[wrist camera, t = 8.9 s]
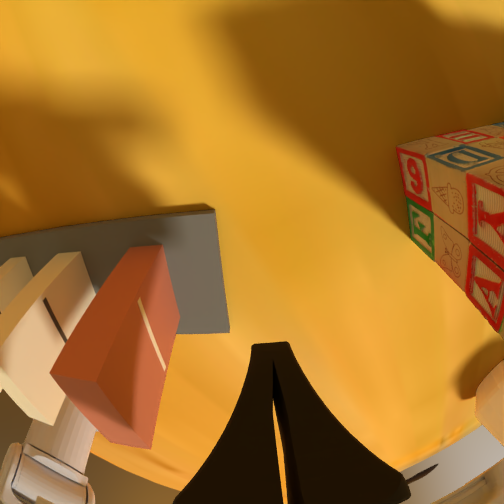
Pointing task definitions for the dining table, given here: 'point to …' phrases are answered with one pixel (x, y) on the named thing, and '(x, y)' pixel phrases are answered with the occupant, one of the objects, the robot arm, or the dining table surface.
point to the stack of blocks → (461, 210)
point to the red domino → (123, 349)
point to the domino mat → (135, 235)
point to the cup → (492, 402)
